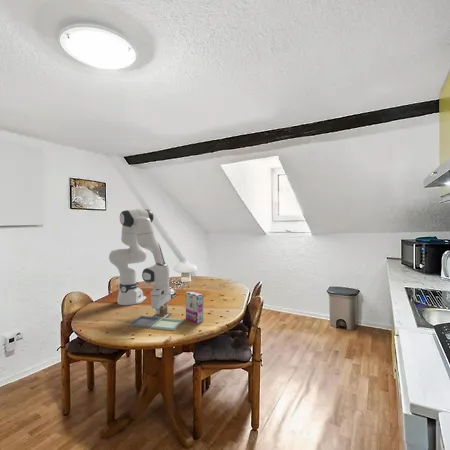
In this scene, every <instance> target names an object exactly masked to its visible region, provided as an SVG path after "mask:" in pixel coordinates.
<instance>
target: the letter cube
mask: <svg viewBox="0 0 450 450" xmlns="http://www.w3.org/2000/svg"><path fill="white" fill-rule="evenodd" d="M159 310H160V314H157V313H156V312H155V314H156V316H157V317H165V316H166V315H167V313H168V305H167V306H164V305H162V306H160V308H159Z"/></svg>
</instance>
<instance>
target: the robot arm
mask: <svg viewBox="0 0 450 450" xmlns="http://www.w3.org/2000/svg"><path fill="white" fill-rule="evenodd" d="M153 221H154V213H153V211H152V210H150V209H147V208H146V209H141V208H138V209H137V208H136V209H130V210H128V209H126V210H123V211H121V212H120V214H119V223H120V224H121V225H122V227H121V237H120V238H121V243H122V244H124V245H125V246H128V248H118V249H117V248H116V249H113V250H111V251H110V253H109V256H108V259H109V262H110V263H111V264H112V265H113V266H115V267H116V269H117V270H118V273H119V290H118V294H117V300H116V303H117V305H120V306H131V305H137V304H138V305H139V304H141V303H142V302H144V301H145V300H146V299H147V296H145V295H144V292H143V290H142V288H140V287H139V285H140V281H137V271H136V270H135V269H133V268H131V267H129V265H132V264H139V263H143V262H145V261H146V259H147V256H148V254H147V252H146V250H147V251H149V252H151V253H152V256H153V259H154V263H155V264H154V265H151V266H149V267H145V268H144V269H143V270H142V273H141V277H142V280H143V282H145V283H148V284H151V283H154V287H153V289H152V290H151V291H150V295H151V297H150V300H151V301H150V303H151V304H150V305H151V308H152V309H155V311H156V312H155V314H156V313H157V314H160V310H159V308H160V306H167V307H168V304H169V301H170V300H171V299H172V291H171V289H170V281H169V280H170V267H169V265H168V263H166V261H165V257H164V255H163V252H162V247H161V245H160V243H159V242H158V240H157V239H156V236H155V231H154V226H153Z"/></svg>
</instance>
